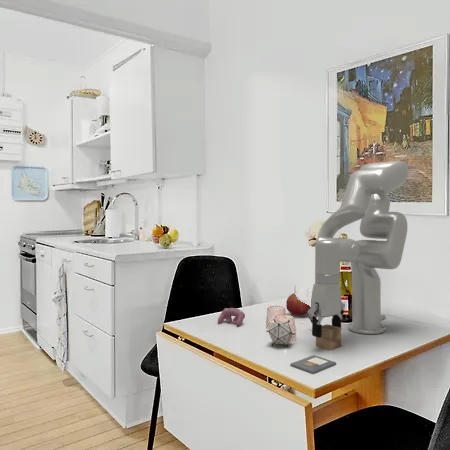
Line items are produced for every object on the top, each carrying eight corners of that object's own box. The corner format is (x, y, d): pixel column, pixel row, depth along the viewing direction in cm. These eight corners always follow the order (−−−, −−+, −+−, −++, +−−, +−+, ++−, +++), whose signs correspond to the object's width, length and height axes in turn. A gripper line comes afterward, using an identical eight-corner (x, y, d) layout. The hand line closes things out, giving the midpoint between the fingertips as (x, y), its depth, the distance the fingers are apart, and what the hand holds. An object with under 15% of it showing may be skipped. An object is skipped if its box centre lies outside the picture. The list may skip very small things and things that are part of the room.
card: (313, 357, 127) (313, 354, 127) (336, 364, 121) (336, 362, 121) (290, 365, 121) (290, 363, 121) (313, 374, 115) (313, 371, 115)
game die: (285, 355, 140) (303, 329, 141) (280, 354, 132) (299, 326, 133) (263, 338, 144) (280, 313, 144) (257, 336, 136) (275, 309, 137)
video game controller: (243, 329, 162) (247, 310, 165) (238, 326, 159) (242, 307, 161) (221, 325, 168) (225, 307, 170) (215, 323, 164) (219, 305, 166)
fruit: (309, 311, 179) (309, 287, 179) (316, 318, 170) (315, 292, 169) (284, 312, 179) (283, 288, 178) (289, 319, 169) (288, 293, 168)
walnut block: (327, 342, 140) (326, 324, 140) (341, 346, 136) (341, 327, 136) (316, 346, 137) (315, 327, 136) (330, 350, 132) (330, 331, 132)
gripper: (334, 275, 143) (333, 327, 144) (299, 280, 133) (299, 336, 133) (354, 278, 138) (353, 331, 138) (319, 283, 127) (318, 341, 127)
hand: (326, 333), depth 135 cm, fingers open, 9 cm apart
